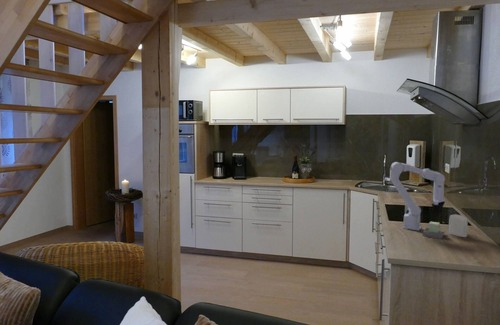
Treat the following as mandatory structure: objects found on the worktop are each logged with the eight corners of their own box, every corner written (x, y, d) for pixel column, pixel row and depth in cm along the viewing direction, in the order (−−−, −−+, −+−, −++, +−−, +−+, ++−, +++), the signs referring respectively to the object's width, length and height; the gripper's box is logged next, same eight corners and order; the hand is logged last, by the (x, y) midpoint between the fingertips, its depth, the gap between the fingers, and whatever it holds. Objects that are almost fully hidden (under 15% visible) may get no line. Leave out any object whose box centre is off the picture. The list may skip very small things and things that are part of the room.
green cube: (428, 231, 226) (429, 223, 226) (430, 229, 230) (430, 221, 230) (437, 232, 223) (438, 224, 223) (439, 230, 228) (439, 222, 227)
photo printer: (447, 233, 231) (448, 213, 229) (451, 232, 233) (452, 212, 231) (463, 238, 222) (465, 217, 220) (468, 236, 224) (469, 216, 222)
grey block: (422, 236, 226) (422, 231, 226) (426, 232, 234) (426, 227, 234) (441, 239, 221) (441, 234, 220) (444, 235, 229) (444, 230, 228)
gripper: (443, 195, 227) (443, 217, 229) (447, 191, 239) (447, 212, 240) (430, 194, 232) (430, 215, 233) (435, 190, 243) (435, 211, 245)
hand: (438, 213), depth 237 cm, fingers open, 7 cm apart
